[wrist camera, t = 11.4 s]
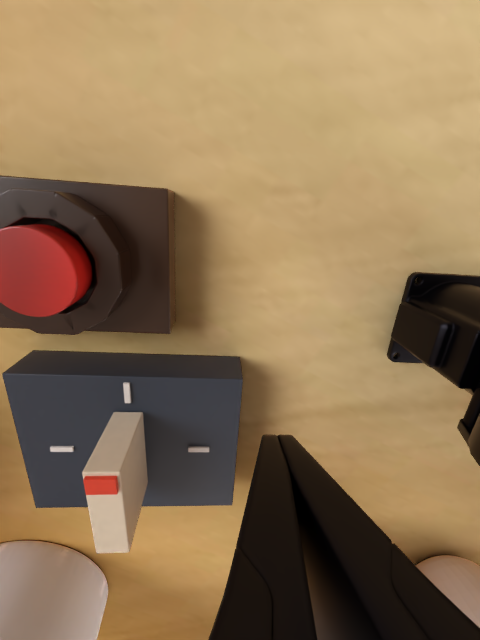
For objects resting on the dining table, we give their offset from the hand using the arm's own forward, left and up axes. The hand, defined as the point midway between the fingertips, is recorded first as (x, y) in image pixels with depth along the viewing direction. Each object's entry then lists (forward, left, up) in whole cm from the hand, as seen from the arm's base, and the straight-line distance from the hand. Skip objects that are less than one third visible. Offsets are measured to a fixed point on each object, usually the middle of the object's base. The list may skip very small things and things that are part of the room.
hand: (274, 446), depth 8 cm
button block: (+10, -3, -12) cm, 16 cm away
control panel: (+7, +9, -12) cm, 17 cm away
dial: (+7, +9, -9) cm, 14 cm away
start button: (+10, -3, -8) cm, 13 cm away
